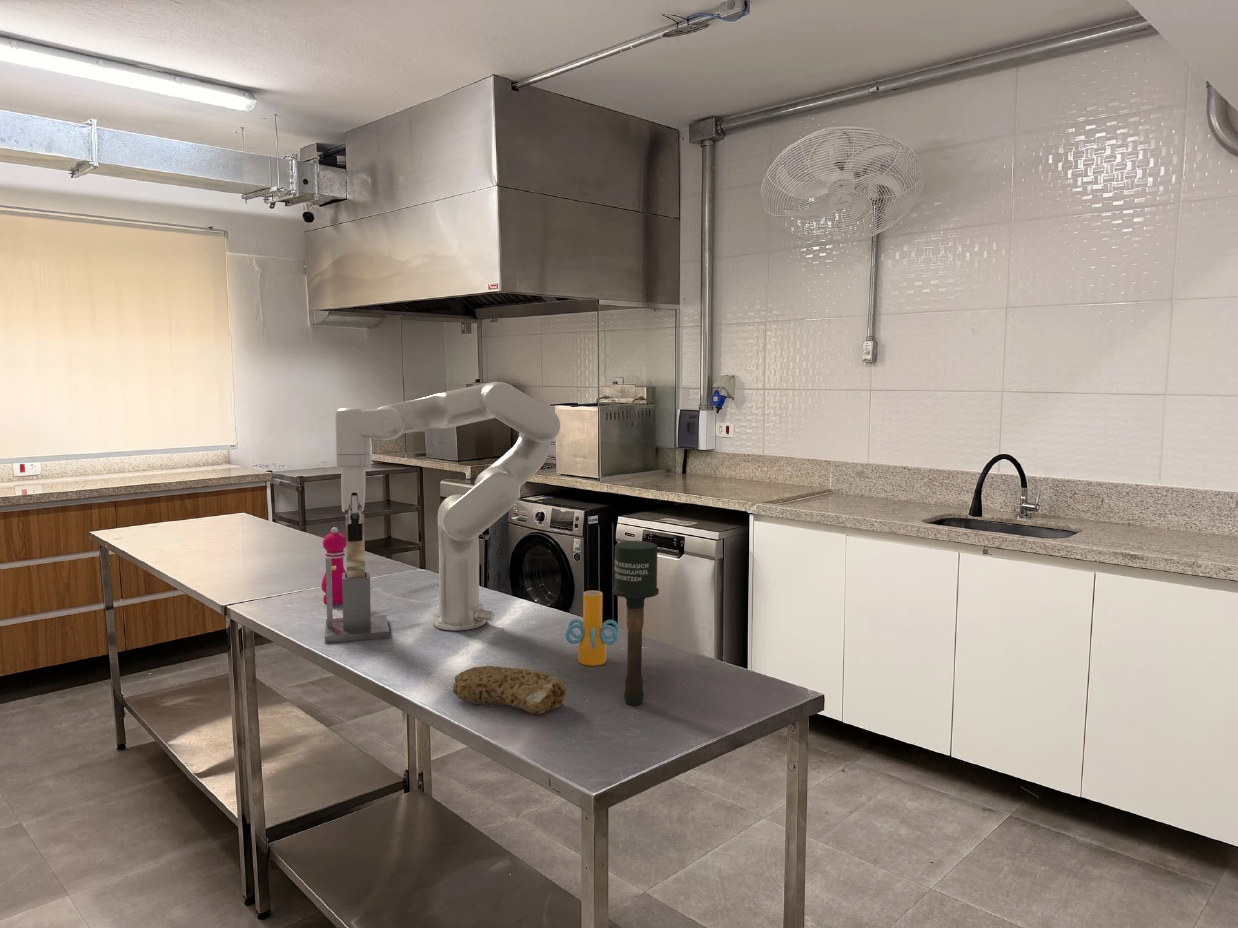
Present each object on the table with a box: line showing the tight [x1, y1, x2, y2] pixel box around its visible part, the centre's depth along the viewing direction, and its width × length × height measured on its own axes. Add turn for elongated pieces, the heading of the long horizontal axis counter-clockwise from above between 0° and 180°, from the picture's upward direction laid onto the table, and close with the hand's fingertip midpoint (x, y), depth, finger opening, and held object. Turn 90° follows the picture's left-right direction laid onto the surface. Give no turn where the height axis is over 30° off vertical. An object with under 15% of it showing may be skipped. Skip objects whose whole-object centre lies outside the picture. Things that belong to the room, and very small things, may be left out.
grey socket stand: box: [324, 557, 390, 644], centre depth 194 cm, size 14×14×18 cm
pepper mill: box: [320, 526, 347, 605], centre depth 219 cm, size 7×7×20 cm
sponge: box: [451, 665, 567, 715], centre depth 153 cm, size 13×8×20 cm
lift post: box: [345, 513, 366, 578], centre depth 193 cm, size 4×4×20 cm
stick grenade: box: [611, 540, 660, 706], centre depth 153 cm, size 8×9×30 cm
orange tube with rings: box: [565, 590, 619, 667], centre depth 175 cm, size 12×10×15 cm
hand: (355, 537), depth 192 cm, fingers open, 5 cm apart
